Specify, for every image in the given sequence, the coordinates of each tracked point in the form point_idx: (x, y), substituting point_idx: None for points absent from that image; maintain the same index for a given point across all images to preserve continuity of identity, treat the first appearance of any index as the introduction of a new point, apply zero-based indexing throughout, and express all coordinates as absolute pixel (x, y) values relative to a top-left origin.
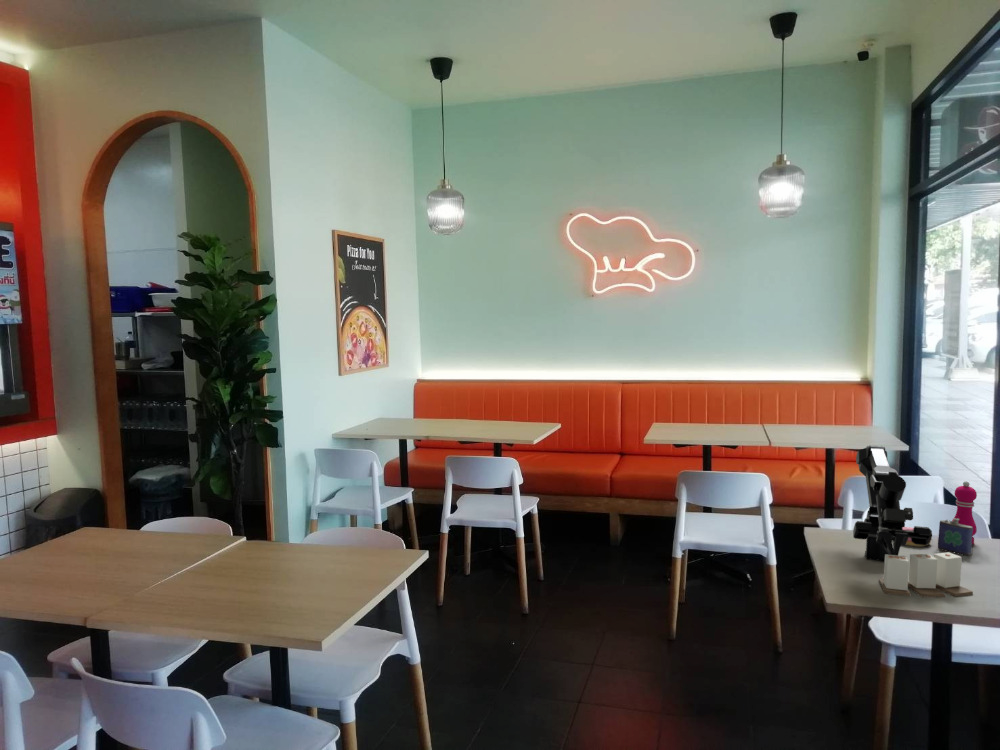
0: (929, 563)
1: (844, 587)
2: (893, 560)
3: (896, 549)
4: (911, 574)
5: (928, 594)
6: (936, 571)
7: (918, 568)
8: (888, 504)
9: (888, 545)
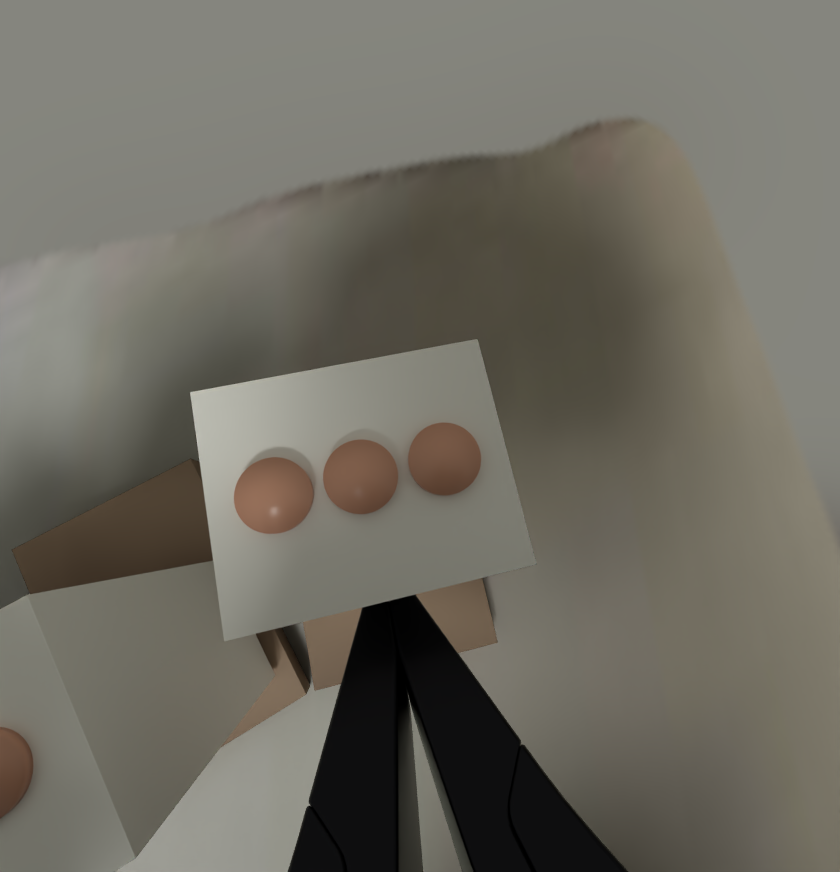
0: None
1: (676, 379)
2: (403, 356)
3: (372, 754)
4: (228, 665)
5: (144, 484)
6: None
7: (115, 580)
8: None
9: (545, 797)
